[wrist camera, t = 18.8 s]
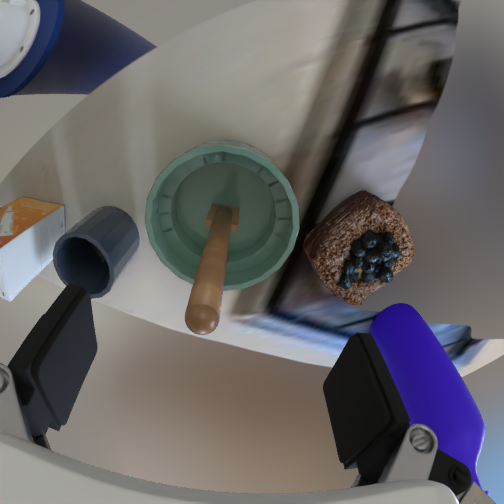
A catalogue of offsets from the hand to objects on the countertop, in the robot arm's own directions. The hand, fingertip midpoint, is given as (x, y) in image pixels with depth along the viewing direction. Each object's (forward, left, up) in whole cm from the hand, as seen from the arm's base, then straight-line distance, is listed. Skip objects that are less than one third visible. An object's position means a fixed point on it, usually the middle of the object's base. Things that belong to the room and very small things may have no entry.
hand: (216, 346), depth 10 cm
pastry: (+4, +15, -23) cm, 28 cm away
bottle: (+15, +26, -23) cm, 38 cm away
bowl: (+3, -1, -23) cm, 23 cm away
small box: (+9, -25, -23) cm, 35 cm away
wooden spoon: (+3, -1, -23) cm, 23 cm away
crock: (+9, -14, -23) cm, 28 cm away
